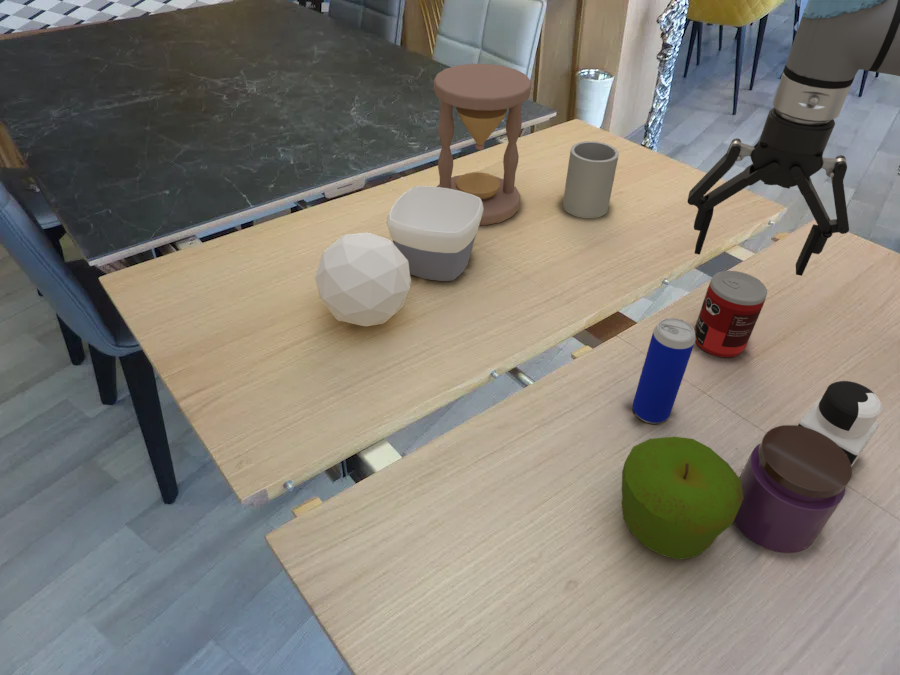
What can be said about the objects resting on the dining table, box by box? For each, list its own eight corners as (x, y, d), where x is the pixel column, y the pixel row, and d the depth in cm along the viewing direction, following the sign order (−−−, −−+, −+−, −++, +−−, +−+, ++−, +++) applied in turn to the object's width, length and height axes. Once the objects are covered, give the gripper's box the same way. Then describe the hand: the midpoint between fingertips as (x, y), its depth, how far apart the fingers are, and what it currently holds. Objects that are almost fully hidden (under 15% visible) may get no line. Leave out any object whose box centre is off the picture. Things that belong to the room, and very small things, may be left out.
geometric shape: (388, 329, 113) (441, 265, 107) (351, 358, 99) (410, 287, 93) (325, 273, 113) (375, 206, 107) (280, 295, 100) (334, 219, 93)
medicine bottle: (779, 458, 87) (814, 393, 79) (802, 429, 91) (838, 365, 83) (834, 491, 83) (876, 426, 75) (856, 459, 87) (898, 395, 79)
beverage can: (673, 407, 93) (702, 325, 84) (663, 431, 90) (691, 348, 80) (638, 393, 95) (662, 311, 86) (626, 416, 92) (649, 333, 82)
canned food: (699, 320, 108) (718, 264, 101) (749, 337, 105) (772, 280, 98) (685, 346, 103) (704, 289, 96) (738, 365, 100) (762, 308, 93)
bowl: (463, 296, 112) (465, 239, 105) (379, 277, 116) (375, 221, 108) (488, 248, 123) (492, 194, 116) (411, 233, 127) (410, 179, 119)
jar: (814, 496, 82) (852, 436, 75) (818, 565, 75) (860, 506, 68) (730, 472, 85) (758, 412, 78) (726, 537, 78) (757, 477, 70)
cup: (608, 220, 132) (619, 164, 124) (562, 215, 133) (570, 159, 125) (607, 198, 138) (617, 143, 131) (563, 193, 139) (571, 139, 132)
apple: (594, 536, 77) (611, 476, 70) (634, 467, 85) (653, 406, 78) (700, 593, 72) (730, 535, 65) (732, 514, 80) (762, 454, 73)
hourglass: (517, 183, 142) (528, 64, 126) (522, 227, 129) (535, 99, 113) (435, 181, 142) (435, 61, 126) (431, 224, 129) (431, 96, 113)
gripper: (694, 107, 81) (654, 254, 95) (923, 143, 74) (844, 294, 88) (699, 86, 86) (661, 228, 100) (913, 118, 80) (840, 264, 94)
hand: (747, 259), depth 94 cm, fingers open, 13 cm apart
